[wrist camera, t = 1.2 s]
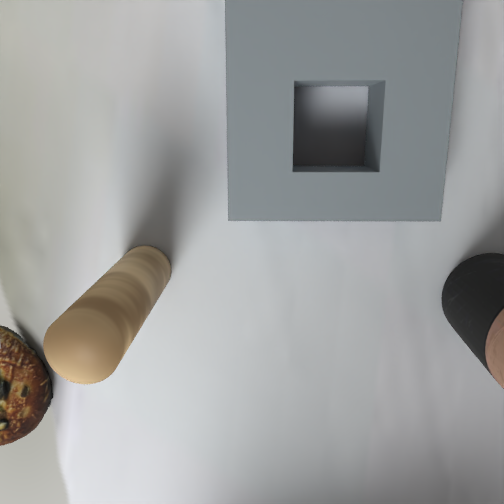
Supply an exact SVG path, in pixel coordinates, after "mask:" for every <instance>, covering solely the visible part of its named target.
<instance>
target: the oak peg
mask: <svg viewBox="0 0 504 504" xmlns="http://www.w3.org/2000/svg"><path fill="white" fill-rule="evenodd" d="M170 277H171V265H170V262H169V260H168V258H167V257H166V255H165V254H164V253H163V252H162V251H160V250H159V249H157V248H155V247H152V246H146V245H144V246H137V247H135V248H133V249H131V250H130V251H129V252H127V253H126V254H125V255H124V256H123V257H122V258H121V259H120V260H119V261H118V262H117V263H116V264H115V265H114V266H113V267H112V268H110V269H109V270H108V271H107V272H106V273H105V274H104V275H103V276H102V277H101V278H100V279H99V280H98V281H97V282H96V283H95V284H94V285H93V286H91V287H90V288H89V289H88V290H87V291H86V292H85V293H84V294H83V295H82V296H81V297H80V298H79V299H78V300H77V301H76V302H75V303H73V304H72V305H71V306H70V307H69V308H68V309H67V310H66V311H65V312H64V313H63V314H62V315H61V316H60V317H59V318H58V319H57V320H55V321H54V322H53V323H52V324H51V326H50V327H49V328H48V330H47V332H46V334H45V337H44V343H43V347H44V354H45V357H46V359H47V361H48V363H49V365H50V366H51V367H52V369H53V370H54V371H55V372H56V373H57V374H59V375H60V376H61V377H63V378H65V379H66V380H69V381H71V382H74V383H79V384H93V383H97V382H100V381H102V380H104V379H106V378H108V377H109V376H110V375H111V374H112V373H113V372H114V371H115V369H116V368H117V366H118V364H119V363H120V361H121V359H122V358H123V356H124V354H125V353H126V351H127V349H128V348H129V346H130V344H131V343H132V341H133V340H134V338H135V336H136V335H137V333H138V331H139V330H140V328H141V326H142V325H143V323H144V321H145V320H146V318H147V316H148V315H149V313H150V311H151V310H152V308H153V307H154V305H155V303H156V302H157V300H158V298H159V297H160V295H161V293H162V292H163V290H164V288H165V287H166V285H167V283H168V282H169V280H170Z"/></svg>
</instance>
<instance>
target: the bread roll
mask: <svg viewBox="0 0 504 504" xmlns="http://www.w3.org/2000/svg"><path fill="white" fill-rule="evenodd" d="M0 344H1V348H0V446H1V445H5V444H8V443H12V442H14V441H16V440H18V439H20V438H22V437H24V436H26V435H27V434H29V433H30V432H31V431H33V430H34V429H35V428H36V427H37V426H38V424H39V423H40V421H41V420H42V418H43V416H44V414H45V413H46V411H47V409H48V407H50V405H51V404H50V402H51V399H52V398H53V393H52V384H51V383H52V382H51V379H50V380H49V373H48V371H47V369H46V366H45V365H44V363H43V362H42V360H41V359H40V357H39V356H38V355H37V353H36V351H35V350H34V349H29V348H28V347H27V346H26V344H25V342H24V341H23V339H22V338H21V336H19V334H17V333H15V332H14V331H12V330H11V329H9V328H8V327H4V326H0Z"/></svg>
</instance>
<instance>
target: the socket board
mask: <svg viewBox="0 0 504 504" xmlns="http://www.w3.org/2000/svg"><path fill="white" fill-rule="evenodd" d="M462 5H463V0H225V32H226V98H227V163H228V221H441V213H442V203H443V194H444V184H445V174H446V164H447V154H448V144H449V134H450V124H451V114H452V104H453V94H454V84H455V75H456V65H457V55H458V45H459V35H460V25H461V15H462ZM294 86H369V92H368V110H367V127H366V145H365V162H364V166H293V121H294Z"/></svg>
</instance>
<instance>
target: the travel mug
mask: <svg viewBox="0 0 504 504" xmlns="http://www.w3.org/2000/svg"><path fill="white" fill-rule="evenodd" d="M442 307H443V311H444V314H445V316H446V318H447V320H448V321H449V323H450V324H451V326H452V327H453V328H454V330H455V331H456V332H457V333H458V335H459V336H460V337H461V338H462V340H463V341H464V342H465V343H466V344H467V346H468V347H469V348H470V349H471V351H472V352H473V353H474V354H475V355H476V357H477V358H478V359H479V360H480V362H481V363H482V364H483V365H484V367H485V368H486V369H487V370H488V371H489V373H490V374H491V375H492V376H493V378H494V379H495V380H496V381H497V382H498V383H499V384H500V385H501V387H502V388H503V389H504V255H503V254H493V253H489V254H482V255H477V256H475V257H472V258H470V259H468V260H466V261H464V262H463V263H461V264H460V265H459V266H458V267H456V268H455V270H454V271H453V272H452V273H451V274H450V276H449V277H448V279H447V281H446V283H445V285H444V288H443V292H442Z"/></svg>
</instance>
